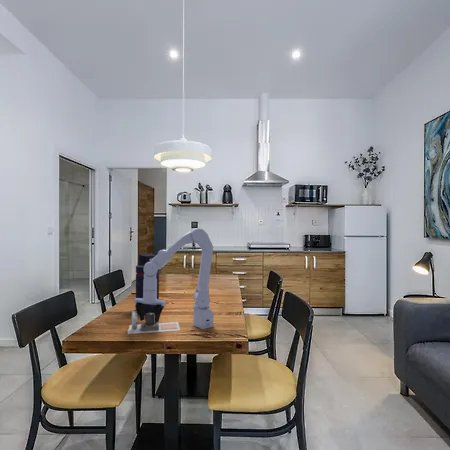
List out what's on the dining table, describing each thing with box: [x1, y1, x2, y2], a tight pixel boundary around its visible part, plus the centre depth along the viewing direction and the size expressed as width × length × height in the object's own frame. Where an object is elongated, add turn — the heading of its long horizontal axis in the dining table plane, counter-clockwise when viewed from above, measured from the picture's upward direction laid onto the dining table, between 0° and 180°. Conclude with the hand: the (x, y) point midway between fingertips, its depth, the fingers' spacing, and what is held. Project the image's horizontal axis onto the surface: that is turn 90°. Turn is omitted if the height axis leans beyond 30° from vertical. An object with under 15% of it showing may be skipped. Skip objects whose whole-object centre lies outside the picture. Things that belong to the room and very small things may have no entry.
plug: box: [144, 312, 155, 326], centre depth 138 cm, size 4×4×6 cm
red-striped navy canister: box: [135, 253, 160, 314], centre depth 168 cm, size 14×12×30 cm
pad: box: [161, 323, 177, 330], centre depth 139 cm, size 7×7×1 cm
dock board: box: [127, 321, 181, 335], centre depth 138 cm, size 22×12×2 cm, turn 103°
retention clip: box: [131, 309, 139, 329], centre depth 131 cm, size 13×2×8 cm, turn 17°
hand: (149, 321), depth 138 cm, fingers open, 7 cm apart
